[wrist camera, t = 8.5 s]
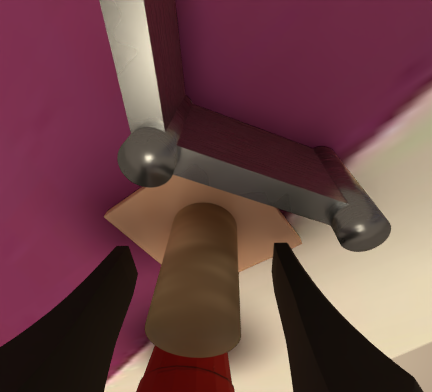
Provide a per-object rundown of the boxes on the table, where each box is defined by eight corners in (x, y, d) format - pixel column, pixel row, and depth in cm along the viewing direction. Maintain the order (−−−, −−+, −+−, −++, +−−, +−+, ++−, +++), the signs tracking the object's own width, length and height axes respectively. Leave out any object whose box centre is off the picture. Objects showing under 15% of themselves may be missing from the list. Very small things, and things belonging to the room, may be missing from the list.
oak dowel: (242, 207, 14) (249, 312, 9) (231, 254, 16) (232, 362, 11) (174, 198, 14) (143, 299, 9) (171, 247, 16) (145, 352, 11)
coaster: (300, 237, 16) (302, 243, 15) (195, 285, 19) (194, 291, 18) (220, 132, 12) (220, 136, 12) (107, 211, 15) (103, 216, 15)
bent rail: (341, 165, 13) (397, 238, 9) (244, 216, 15) (251, 297, 11) (142, -205, 7) (12, -542, 3) (27, -39, 9) (-151, -87, 5)
